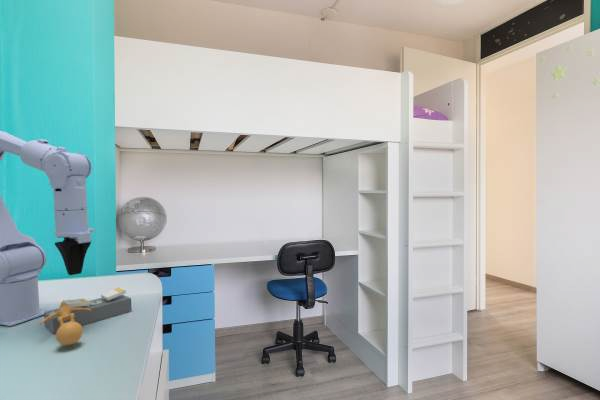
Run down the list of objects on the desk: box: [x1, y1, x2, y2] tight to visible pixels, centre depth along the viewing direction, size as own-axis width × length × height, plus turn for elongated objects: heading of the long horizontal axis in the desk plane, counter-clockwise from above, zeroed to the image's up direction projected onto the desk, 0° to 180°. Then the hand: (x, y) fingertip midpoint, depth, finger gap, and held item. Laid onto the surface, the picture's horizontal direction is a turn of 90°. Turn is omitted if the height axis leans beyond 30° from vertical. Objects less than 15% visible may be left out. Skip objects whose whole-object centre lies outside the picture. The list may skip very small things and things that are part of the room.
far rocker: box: [100, 287, 127, 300], centre depth 78 cm, size 4×4×1 cm
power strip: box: [43, 294, 133, 335], centre depth 74 cm, size 15×6×3 cm, turn 140°
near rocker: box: [62, 298, 90, 308], centre depth 72 cm, size 4×4×1 cm
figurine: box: [38, 301, 91, 346], centre depth 64 cm, size 8×6×12 cm
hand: (74, 273), depth 72 cm, fingers closed
